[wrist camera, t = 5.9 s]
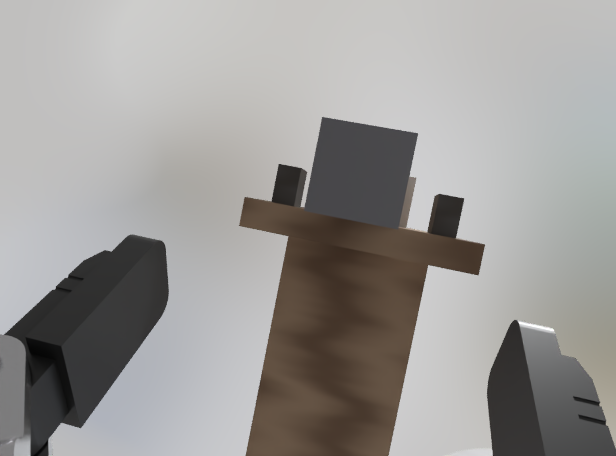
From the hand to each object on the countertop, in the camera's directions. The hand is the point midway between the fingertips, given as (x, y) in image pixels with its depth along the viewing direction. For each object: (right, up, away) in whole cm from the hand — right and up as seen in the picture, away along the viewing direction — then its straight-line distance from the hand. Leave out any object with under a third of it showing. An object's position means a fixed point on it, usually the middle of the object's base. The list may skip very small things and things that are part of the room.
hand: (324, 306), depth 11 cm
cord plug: (+2, +2, +14) cm, 14 cm away
